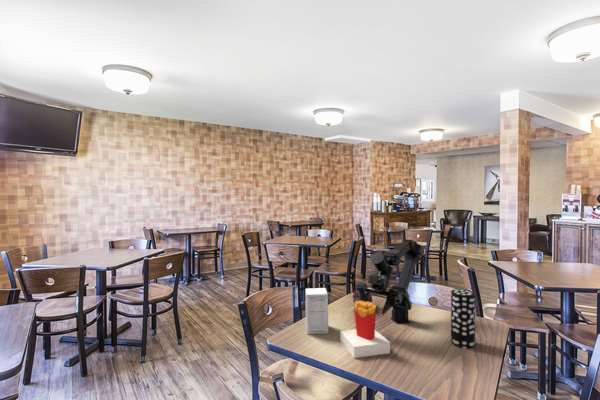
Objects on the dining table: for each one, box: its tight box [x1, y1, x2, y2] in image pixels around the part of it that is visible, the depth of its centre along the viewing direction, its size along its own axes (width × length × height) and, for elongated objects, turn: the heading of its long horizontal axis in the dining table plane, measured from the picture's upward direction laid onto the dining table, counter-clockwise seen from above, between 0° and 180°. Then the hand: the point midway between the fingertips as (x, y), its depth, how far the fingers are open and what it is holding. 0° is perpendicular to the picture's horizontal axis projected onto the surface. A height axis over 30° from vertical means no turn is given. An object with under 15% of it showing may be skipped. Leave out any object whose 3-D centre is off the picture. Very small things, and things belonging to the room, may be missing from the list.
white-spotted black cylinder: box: [450, 288, 476, 350], centre depth 127 cm, size 8×8×20 cm
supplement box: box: [304, 287, 329, 335], centre depth 142 cm, size 10×9×17 cm
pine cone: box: [352, 289, 373, 304], centre depth 168 cm, size 18×10×10 cm, turn 165°
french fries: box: [353, 301, 377, 340], centre depth 125 cm, size 9×4×13 cm, turn 44°
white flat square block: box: [339, 328, 391, 359], centre depth 126 cm, size 14×14×4 cm
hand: (371, 311), depth 131 cm, fingers open, 9 cm apart
